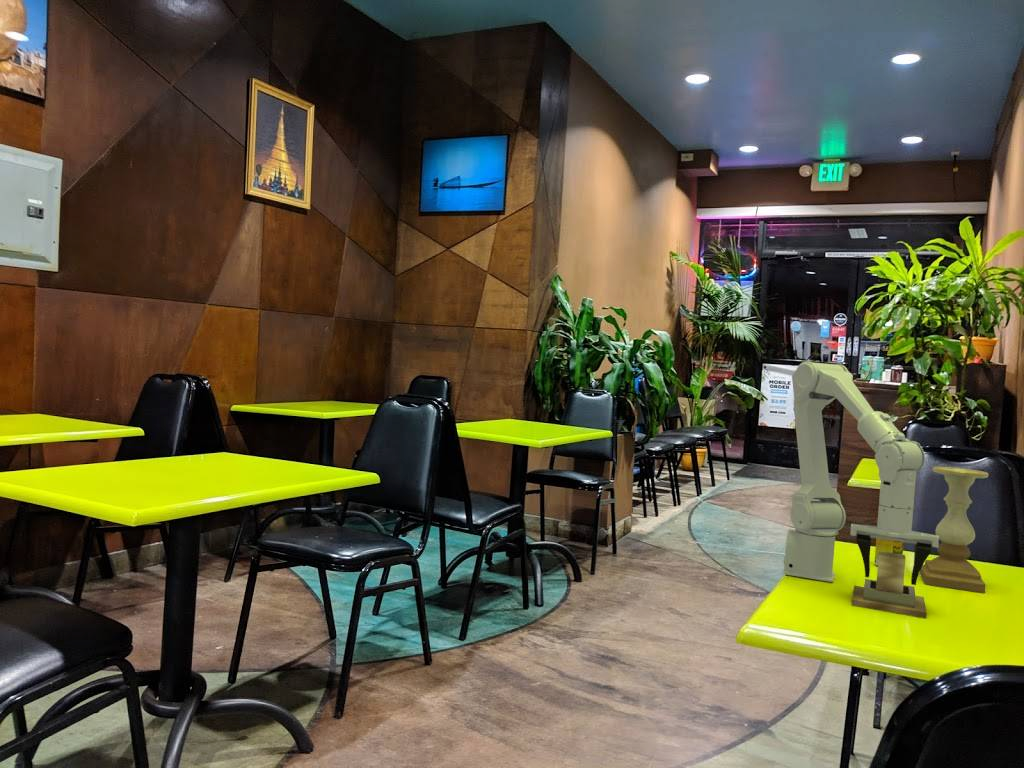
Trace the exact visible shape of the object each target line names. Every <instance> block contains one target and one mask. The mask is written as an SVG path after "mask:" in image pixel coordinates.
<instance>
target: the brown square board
mask: <svg viewBox="0 0 1024 768" xmlns="http://www.w3.org/2000/svg"><path fill="white" fill-rule="evenodd" d="M863 594H864V586H860V585H854V586H853V592H852V596H851V606H854V607H860V608H865V609H871V610H877V611H881V610H882V612H887V611H889V612H888V613H893V612H895V613H894V614H898V613H900V614H899V615H904V614H905V615H906V616H910V615H911V616H910V617H916V618H921V617H922V619H927V616H928V611H927V607H926V602H925V596H921V595H916V601H915V608H911V607H905V606H899V605H893V604H888V603H882V602H876V601H870V600H864V599H863Z"/></svg>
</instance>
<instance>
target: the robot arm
mask: <svg viewBox="0 0 1024 768" xmlns="http://www.w3.org/2000/svg"><path fill="white" fill-rule="evenodd" d="M853 380H854V375H853V374H852V373H851V372H850V371H849V370H848V368H847V367H846V366H845V365H844V364H840V363H836V364H834V363H833V364H832V363H821V362H812V361H809V360H807V361H802V362H801V363H800V364H798V366H797V368H796V369H795V371H794V372H793V374H792V375H791V381H792V389H793V392H792V393H793V412H794V413H793V414H794V415H793V416H794V424H795V433H796V443H797V452H798V462H799V469H800V470H799V471H800V480H801V481H800V482H801V487H800V488H799V489H798V490H797V491H796V492H794V494H793V495H792V496H791V501H792V502H791V508H790V520H791V523H792V526H793V527H794V529H788V530H787V534H786V539H785V540H786V541H785V553H784V554H785V555H784V557H783V572H782V573H783V575H785V576H786V575H787V576H793V577H798V578H805V579H811V580H817V581H821V582H829V583H834V579H835V576H836V572H834V571H833V569H834V556H835V545H836V544H835V543H836V536H838V535H839V531H840V530H841V529H842V528H844V526H845V524H846V519H847V518H846V517H847V515H846V510H845V508H844V506H843V505H842V500H841V495H840V493H839V492H837V490H836V489H835V488H833V486H832V485H831V484H830V476H829V474H830V473H829V467H828V456H827V449H826V439H825V431H824V430H825V429H824V423H823V421H824V420H823V413H822V411H823V410H824V408H825V407H826V406H827V405H829V404H831V403H832V402H833V401H834V400H837V401H838V402H839V403H840V404H841V405H842V406H843V407H844V408H845V409H846V410H847V411H848V413H850V414H851V415H852V416H853V417H854V419H856V421H857V426H856V427H857V432H858V433H859V434H860V435H861V436H862V438H863V439H864V440H865V442H866V443H867V444H868V445H869V446H870V448H871V449H872V450H873V452H874V453H875V454H874V461H875V463H876V466H877V468H878V477H879V480H880V485H879V486H880V487H879V488H880V489H879V499H878V500H879V501H878V511H877V512H878V513H877V524H876V525H867V524H866V525H865V524H857V523H851V525H850V536H853V537H856V539H855V540H856V543H857V546H858V549H859V551H860V554H861V557H862V562H863V565H864V566H863V567H864V573H865V574H864V577H865V578H870V572H871V561H870V560H871V559H870V558H871V557H870V556H871V544H872V538H873V539H876V538H878V539H885V540H892V541H899V542H904V543H905V544H906V543H907V544H914V554H913V555H914V556H913V567H912V573H911V581H910V584H911V586H912V585H913V586H916V585H917V581H918V577H919V575H920V570H921V567H922V566H923V565H925V561H926V560H928V559H927V558H929V555H930V554H931V552H932V548H936V549H937V548H938V546H939V541H940V539H939V536H938V535H936V534H930V533H926V532H920V531H914V530H913V529H912V528H913V519H914V517H913V516H914V506H915V494H916V493H915V491H916V479H917V473H918V472H919V471H920V470H922V468H923V467H924V465H925V462H926V454H925V451H924V449H923V448H922V446H921V444H920V443H919V442H917V441H915V440H909V439H908V438H906V436H905V434H904V433H903V432H901V431H900V430H899V429H898V428H897V427H896V426H895V424H894V423H893V422H892V421H891V418H892V417H891V416H890V415H889V414H888V413H884V412H882V411H878V410H874V409H873V407H872V406H871V405H870V403H869V402H868V401H867V399H866V397H864V395H863V394H862V392H861V391H860V390H859V389H858V387H857V385H856V384H855V383H854V382H853ZM882 535H885V536H882ZM886 536H889V537H886ZM893 537H896V538H893ZM900 538H904V539H900Z"/></svg>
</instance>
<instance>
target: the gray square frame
mask: <svg viewBox="0 0 1024 768" xmlns="http://www.w3.org/2000/svg"><path fill="white" fill-rule="evenodd" d="M876 582H877V579H876V580H874V579H870V578H865V579H864V584H863V585H864V586H863V587H864V594H863V599H864V600H870V601H876V602H882V603H888V604H893V605H899V606H905V607H911V608H915V601H916V596H917V595H916V588H915V586H914V585H913V586H912V585H905V584H904V585H903V594H902V593H896V592H890V591H884V590H878V589H876Z"/></svg>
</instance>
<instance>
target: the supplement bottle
mask: <svg viewBox="0 0 1024 768" xmlns="http://www.w3.org/2000/svg"><path fill="white" fill-rule="evenodd" d="M882 536H885V535H882ZM886 537H889V536H886ZM893 538H896V537H893ZM900 539H905V538H900ZM875 540H876V541H875V551H874V565H876V566H877V567H878V557H879V551H882V552H889V553H896V554H903V553H904V543H905V542H899V541H892V540H885V539H878V538H875ZM903 555H904V554H903Z"/></svg>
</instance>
